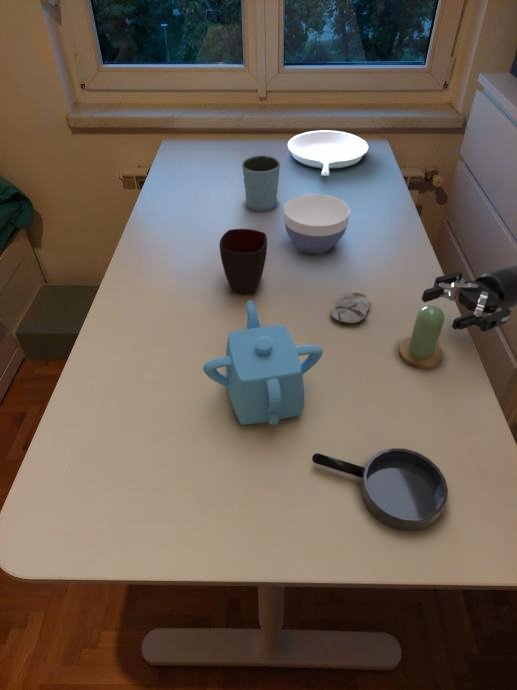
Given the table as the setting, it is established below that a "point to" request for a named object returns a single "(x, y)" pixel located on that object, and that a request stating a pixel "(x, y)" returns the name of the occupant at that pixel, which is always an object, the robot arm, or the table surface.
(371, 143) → the table surface
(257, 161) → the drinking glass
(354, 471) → the pan handle
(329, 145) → the pan
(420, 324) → the green capsule
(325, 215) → the bowl
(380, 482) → the steel pan
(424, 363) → the disc
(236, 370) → the teapot
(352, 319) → the stone
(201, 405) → the table surface
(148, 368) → the table surface
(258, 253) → the cup
